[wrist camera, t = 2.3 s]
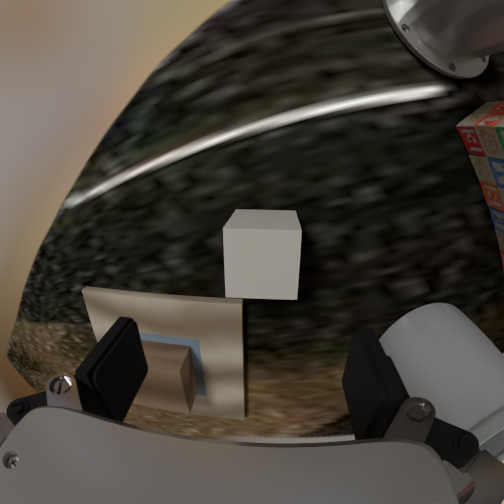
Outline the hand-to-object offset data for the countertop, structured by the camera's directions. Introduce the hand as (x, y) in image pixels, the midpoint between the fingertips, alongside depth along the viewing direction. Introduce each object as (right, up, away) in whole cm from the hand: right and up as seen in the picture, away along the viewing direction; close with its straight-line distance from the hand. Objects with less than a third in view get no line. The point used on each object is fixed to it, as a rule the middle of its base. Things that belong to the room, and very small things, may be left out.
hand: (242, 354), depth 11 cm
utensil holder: (+20, -7, +16) cm, 27 cm away
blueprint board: (-9, -8, +19) cm, 23 cm away
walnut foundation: (-10, -9, +18) cm, 22 cm away
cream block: (+2, +5, +13) cm, 14 cm away
